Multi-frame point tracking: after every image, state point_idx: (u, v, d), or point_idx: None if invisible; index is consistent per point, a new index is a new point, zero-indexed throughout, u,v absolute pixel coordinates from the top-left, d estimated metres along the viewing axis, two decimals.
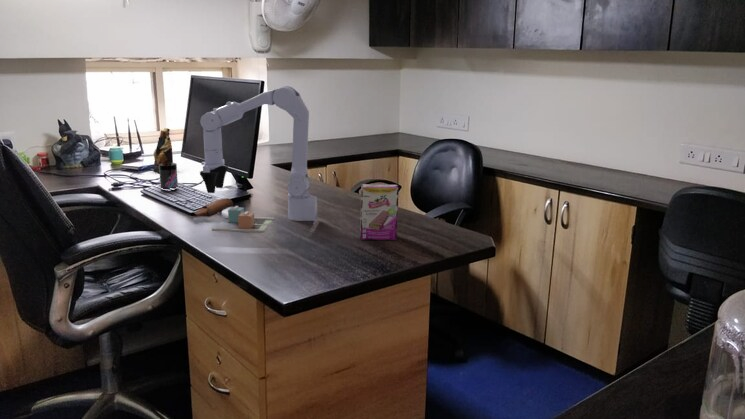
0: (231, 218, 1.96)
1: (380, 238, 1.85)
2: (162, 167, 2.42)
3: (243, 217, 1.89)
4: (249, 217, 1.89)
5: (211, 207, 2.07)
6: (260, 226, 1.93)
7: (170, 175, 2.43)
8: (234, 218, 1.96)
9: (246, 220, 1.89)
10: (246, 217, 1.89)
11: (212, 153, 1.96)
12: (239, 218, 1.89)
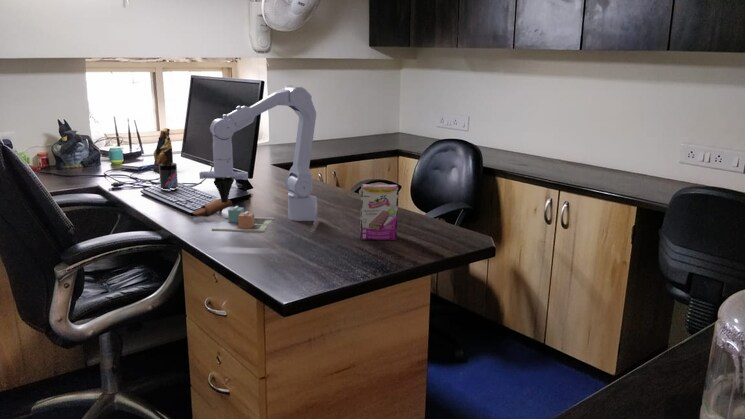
0: (231, 218, 1.96)
1: (380, 238, 1.85)
2: (162, 167, 2.42)
3: (243, 217, 1.89)
4: (249, 217, 1.89)
5: (209, 207, 2.08)
6: (260, 226, 1.93)
7: (170, 175, 2.43)
8: (234, 218, 1.96)
9: (246, 220, 1.89)
10: (246, 217, 1.89)
11: None
12: (239, 218, 1.89)
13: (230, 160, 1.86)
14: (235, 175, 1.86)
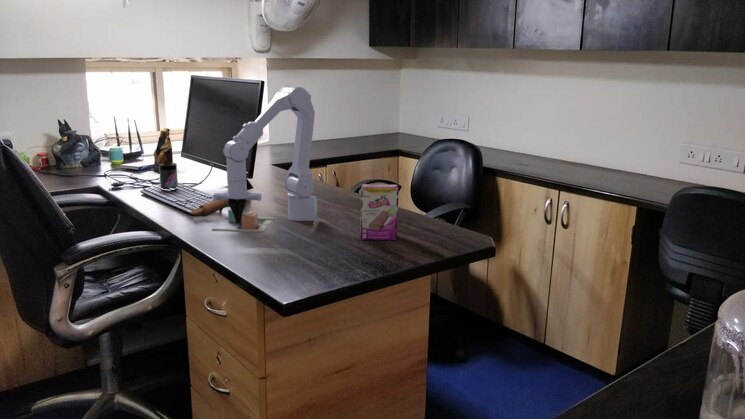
0: (231, 218, 1.96)
1: (380, 238, 1.85)
2: (162, 167, 2.42)
3: (246, 217, 1.89)
4: (252, 217, 1.89)
5: (207, 207, 2.08)
6: (260, 226, 1.93)
7: (170, 175, 2.43)
8: (234, 218, 1.96)
9: (249, 220, 1.89)
10: (249, 217, 1.89)
11: None
12: (242, 218, 1.89)
13: (244, 182, 1.88)
14: (250, 196, 1.88)
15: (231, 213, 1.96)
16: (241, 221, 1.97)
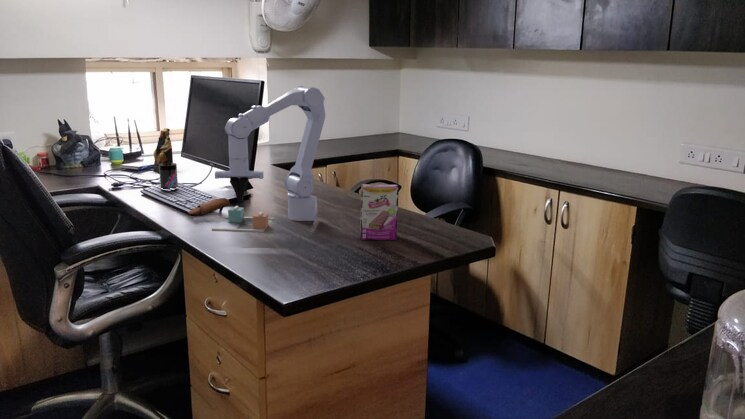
0: (231, 218, 1.96)
1: (380, 238, 1.85)
2: (162, 167, 2.42)
3: (258, 217, 1.89)
4: (264, 217, 1.89)
5: (204, 206, 2.08)
6: None
7: (170, 175, 2.43)
8: (234, 218, 1.96)
9: (261, 220, 1.89)
10: (261, 217, 1.89)
11: (229, 161, 1.87)
12: (254, 218, 1.89)
13: (246, 159, 1.86)
14: (251, 174, 1.87)
15: (231, 213, 1.96)
16: (241, 221, 1.97)
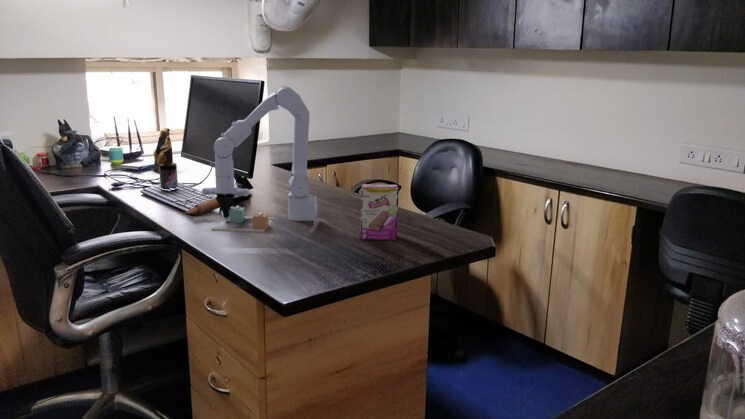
0: (232, 218, 1.96)
1: (380, 238, 1.85)
2: (162, 167, 2.42)
3: (258, 217, 1.89)
4: (264, 217, 1.89)
5: (202, 206, 2.08)
6: None
7: (170, 175, 2.43)
8: (234, 219, 1.96)
9: (261, 220, 1.89)
10: (261, 217, 1.89)
11: None
12: (254, 218, 1.89)
13: (231, 177, 1.94)
14: (236, 192, 1.94)
15: (232, 213, 1.96)
16: (242, 221, 1.97)
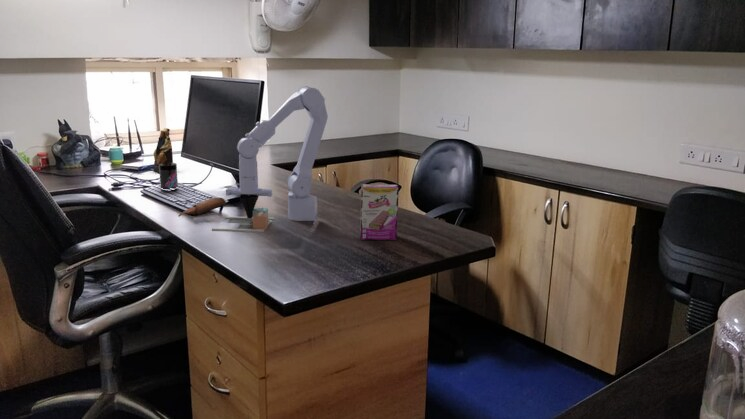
0: None
1: (380, 238, 1.85)
2: (162, 167, 2.42)
3: (258, 217, 1.89)
4: (264, 217, 1.89)
5: (200, 206, 2.09)
6: None
7: (170, 175, 2.43)
8: None
9: (261, 220, 1.89)
10: (261, 217, 1.89)
11: None
12: (254, 218, 1.89)
13: (255, 178, 1.94)
14: (260, 192, 1.94)
15: None
16: None
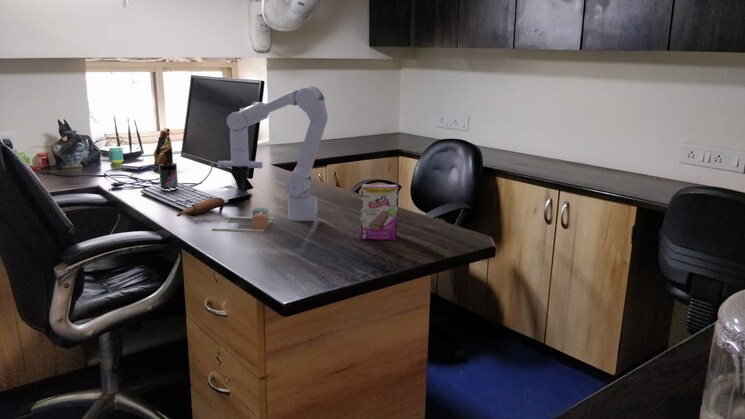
0: None
1: (380, 238, 1.85)
2: (162, 167, 2.42)
3: (258, 217, 1.89)
4: (264, 217, 1.89)
5: (199, 206, 2.09)
6: None
7: (170, 175, 2.43)
8: None
9: (261, 220, 1.89)
10: (261, 217, 1.89)
11: None
12: (254, 218, 1.89)
13: (246, 150, 2.00)
14: (251, 164, 2.01)
15: None
16: None
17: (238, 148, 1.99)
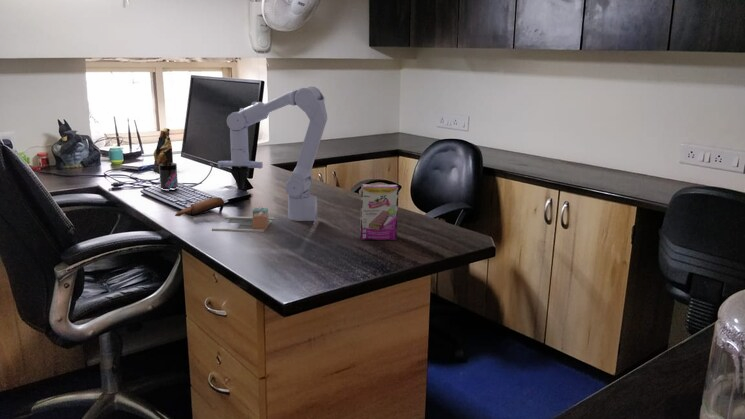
0: None
1: (380, 238, 1.85)
2: (162, 167, 2.42)
3: (258, 217, 1.89)
4: (264, 217, 1.89)
5: (197, 205, 2.09)
6: None
7: (170, 175, 2.43)
8: None
9: (261, 220, 1.89)
10: (261, 217, 1.89)
11: None
12: (254, 218, 1.89)
13: (246, 150, 2.01)
14: (251, 164, 2.01)
15: None
16: None
17: (238, 148, 1.99)
